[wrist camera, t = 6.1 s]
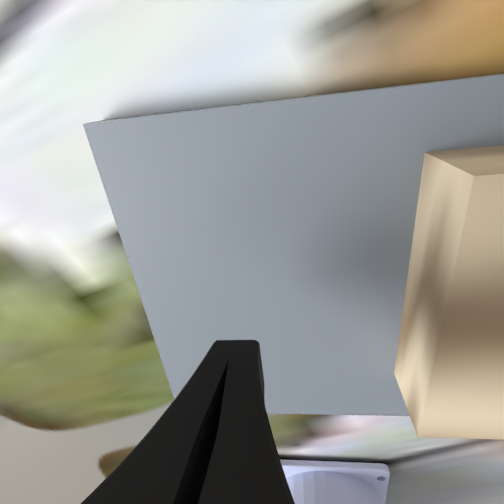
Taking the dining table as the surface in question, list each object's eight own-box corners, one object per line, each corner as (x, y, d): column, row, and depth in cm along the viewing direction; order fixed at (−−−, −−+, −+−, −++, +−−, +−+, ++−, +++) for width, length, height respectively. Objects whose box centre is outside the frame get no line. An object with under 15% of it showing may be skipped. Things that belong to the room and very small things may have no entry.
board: (706, 398, 15) (803, 470, 12) (184, 393, 19) (166, 448, 16) (1028, 10, 8) (1419, -28, 5) (101, 120, 12) (42, 131, 9)
